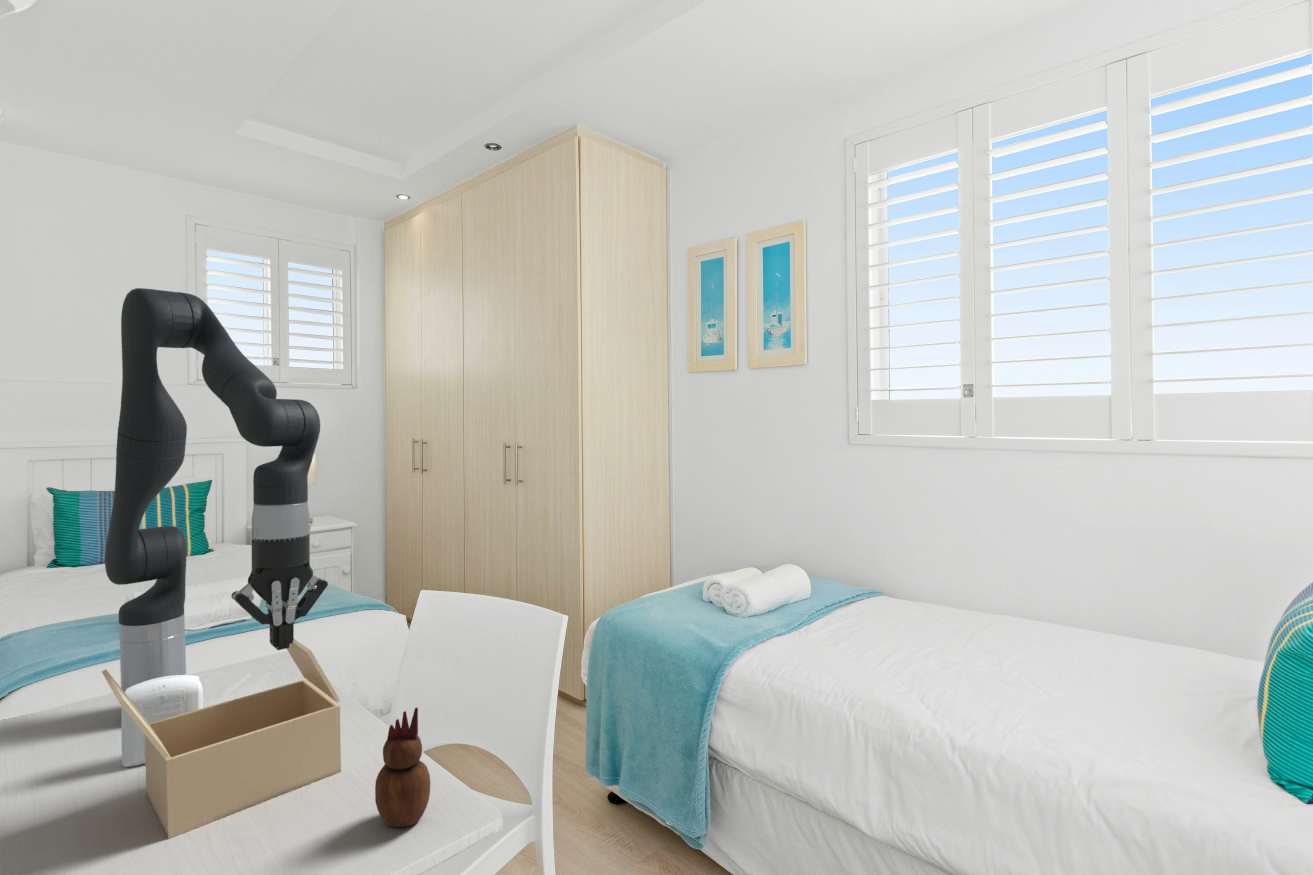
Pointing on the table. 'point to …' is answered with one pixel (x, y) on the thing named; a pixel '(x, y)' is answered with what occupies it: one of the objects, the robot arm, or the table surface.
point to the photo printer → (157, 709)
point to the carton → (240, 754)
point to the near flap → (134, 713)
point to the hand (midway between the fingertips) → (281, 647)
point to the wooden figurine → (402, 776)
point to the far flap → (311, 668)
